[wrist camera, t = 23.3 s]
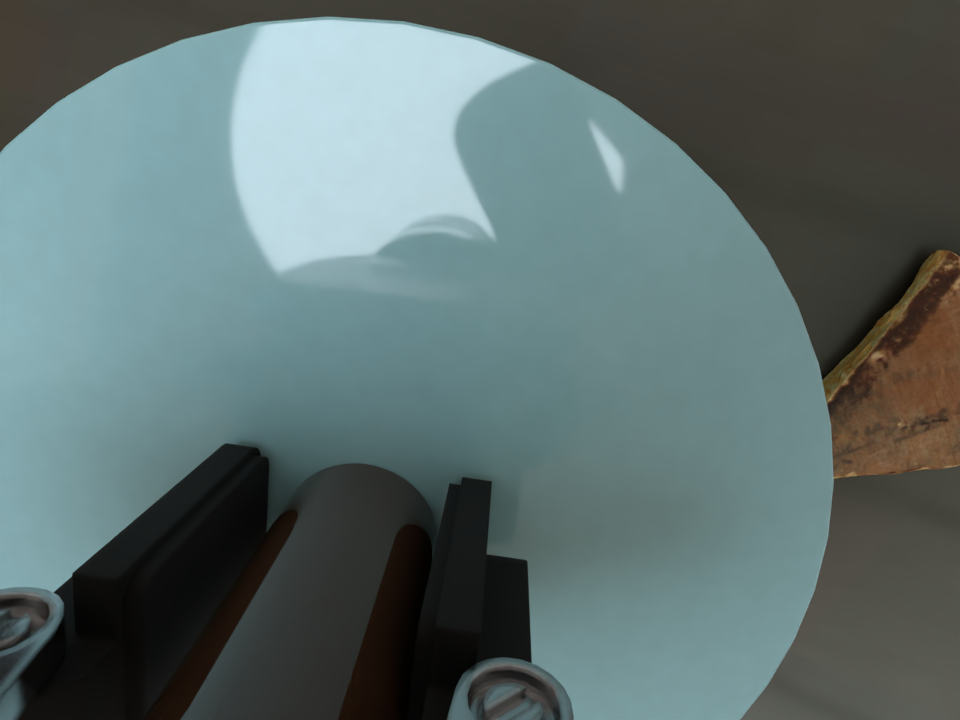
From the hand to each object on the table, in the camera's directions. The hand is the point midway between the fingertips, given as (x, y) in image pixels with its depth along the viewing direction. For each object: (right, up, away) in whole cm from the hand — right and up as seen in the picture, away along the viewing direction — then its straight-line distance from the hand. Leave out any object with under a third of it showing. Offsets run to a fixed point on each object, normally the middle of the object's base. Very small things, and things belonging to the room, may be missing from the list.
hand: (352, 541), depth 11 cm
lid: (0, 0, +1) cm, 1 cm away
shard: (+19, +2, +12) cm, 22 cm away
